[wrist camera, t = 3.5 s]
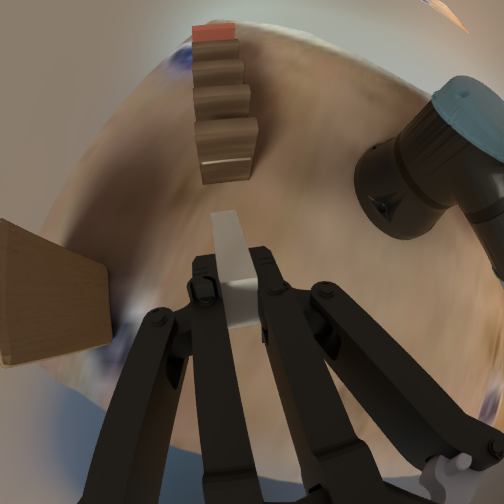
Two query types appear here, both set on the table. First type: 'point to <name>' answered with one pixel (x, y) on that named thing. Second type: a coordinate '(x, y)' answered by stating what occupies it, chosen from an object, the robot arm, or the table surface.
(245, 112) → the tile
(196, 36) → the end tile
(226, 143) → the tile
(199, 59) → the tile
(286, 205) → the table surface
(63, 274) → the wooden block
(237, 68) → the tile
